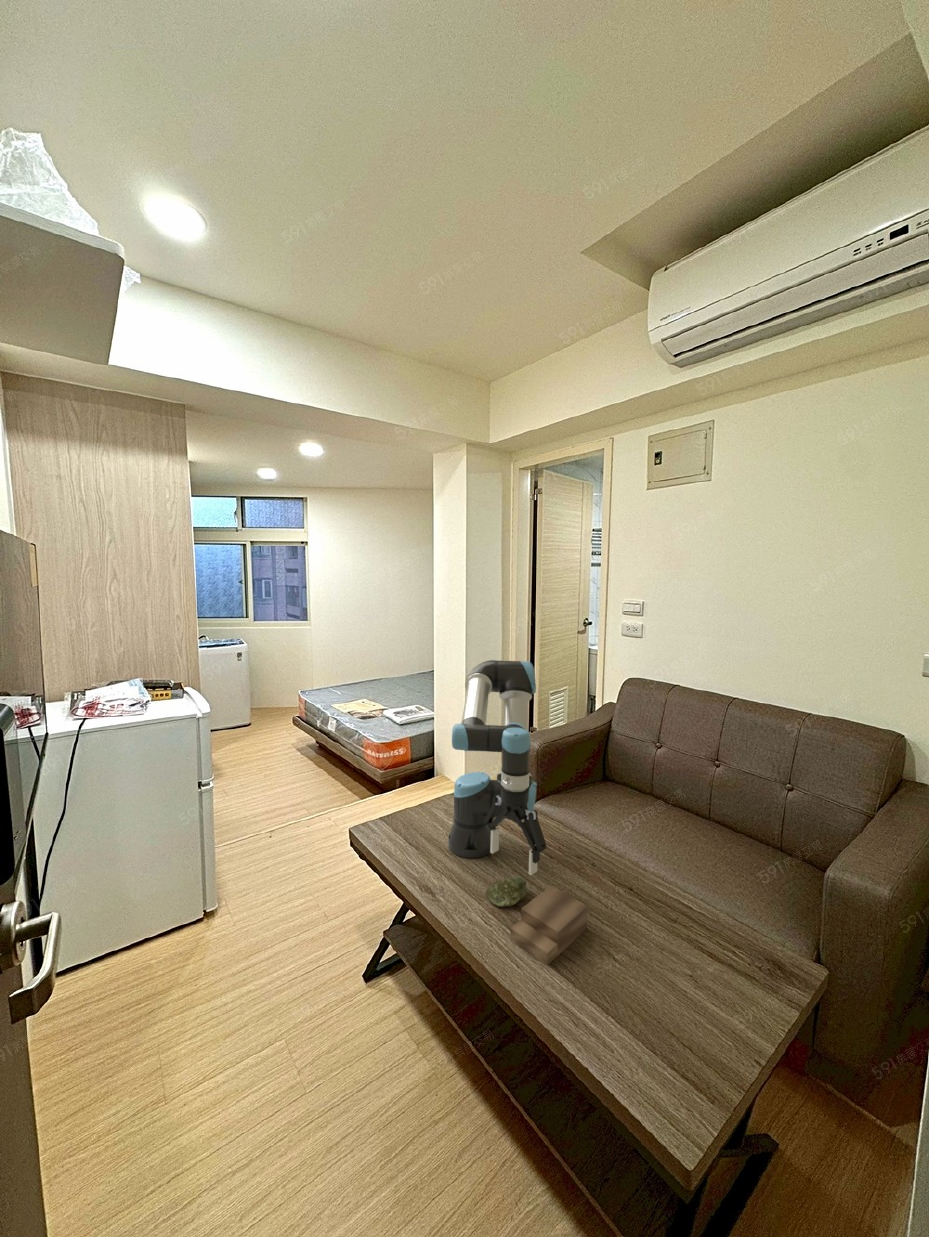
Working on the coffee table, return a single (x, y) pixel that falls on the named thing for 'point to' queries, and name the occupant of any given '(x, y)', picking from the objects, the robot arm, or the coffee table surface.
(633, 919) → the coffee table surface
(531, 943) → the block
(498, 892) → the seashell
